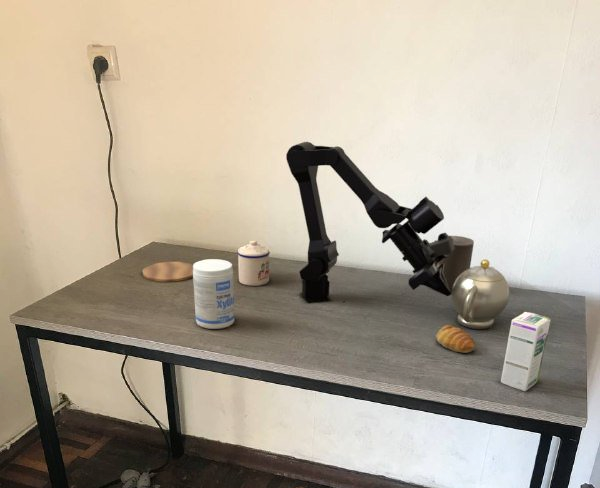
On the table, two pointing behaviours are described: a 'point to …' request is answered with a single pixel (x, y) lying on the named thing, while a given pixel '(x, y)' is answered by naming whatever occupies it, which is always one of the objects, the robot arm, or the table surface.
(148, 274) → the wooden trivet
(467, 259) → the pillar candle
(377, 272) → the table surface
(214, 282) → the supplement tub
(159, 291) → the table surface
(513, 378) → the syrup box
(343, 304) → the table surface
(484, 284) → the teapot
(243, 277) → the teacup with lid
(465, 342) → the pastry
